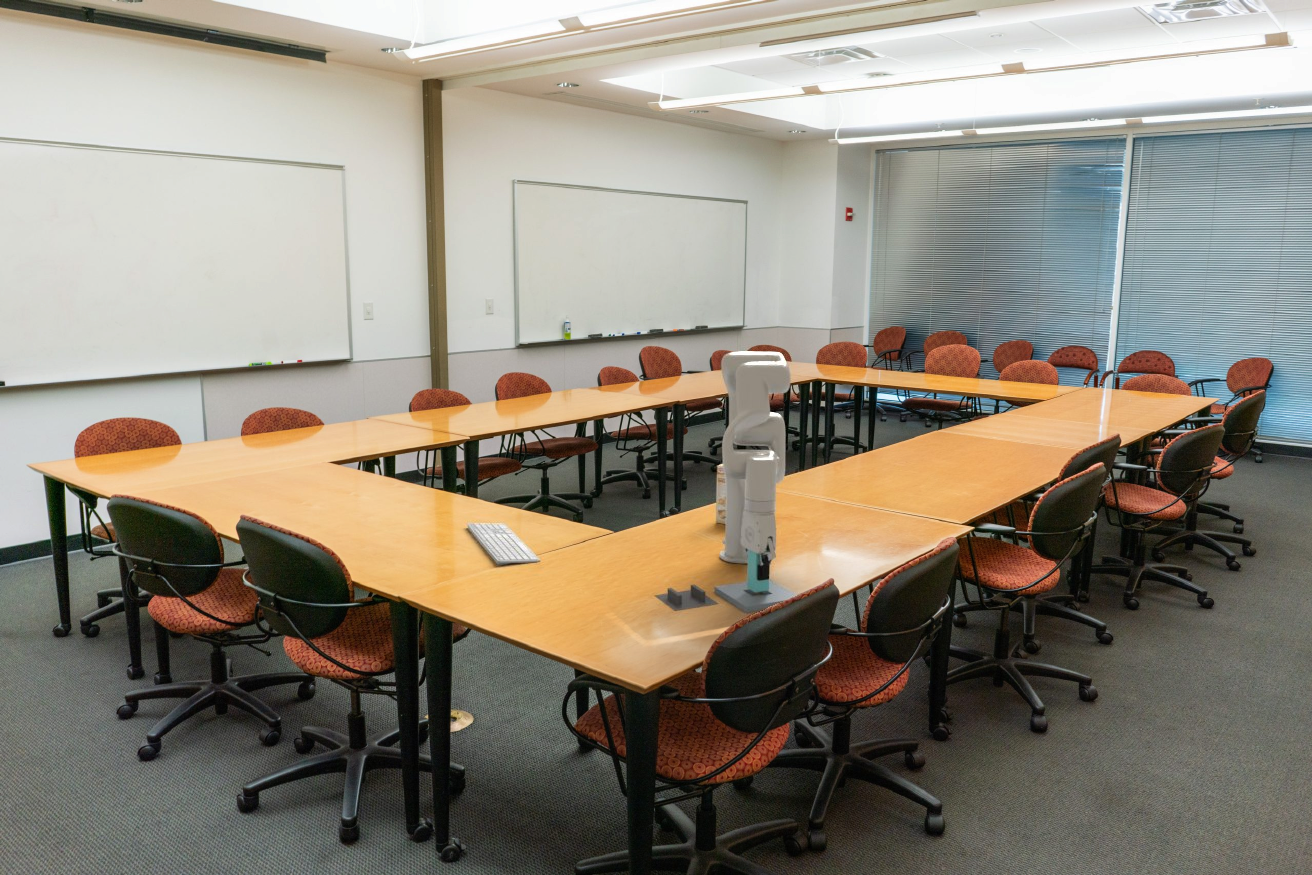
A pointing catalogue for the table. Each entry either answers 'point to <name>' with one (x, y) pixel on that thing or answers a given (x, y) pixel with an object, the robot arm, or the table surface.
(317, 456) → the table surface
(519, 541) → the keyboard
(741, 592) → the plate
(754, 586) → the plug
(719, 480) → the coffeecake box
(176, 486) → the table surface
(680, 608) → the dark grey holder stand
